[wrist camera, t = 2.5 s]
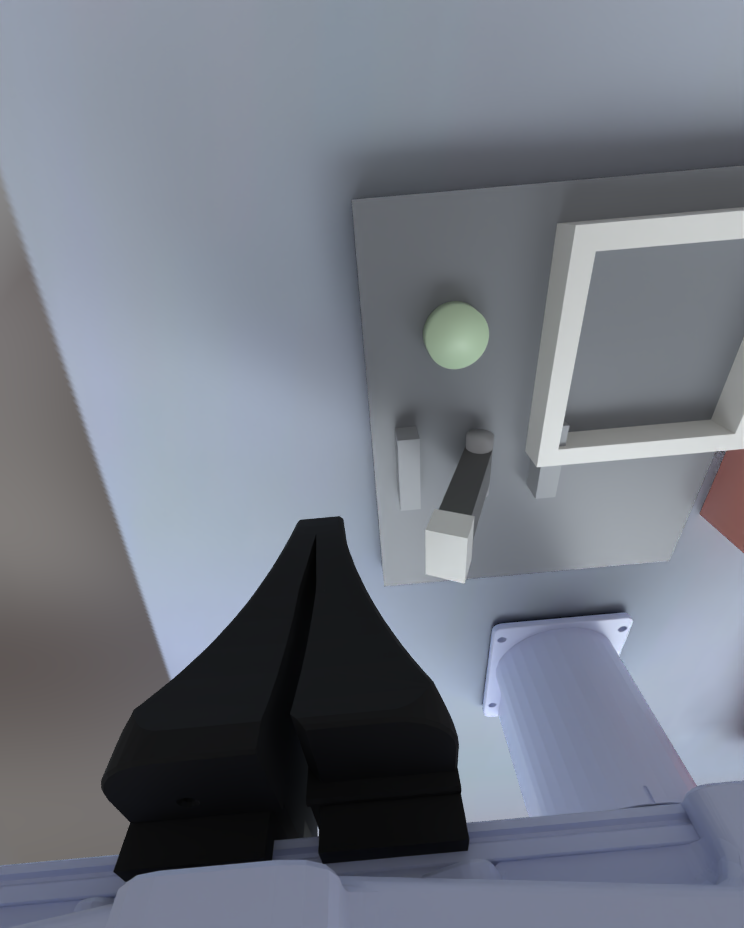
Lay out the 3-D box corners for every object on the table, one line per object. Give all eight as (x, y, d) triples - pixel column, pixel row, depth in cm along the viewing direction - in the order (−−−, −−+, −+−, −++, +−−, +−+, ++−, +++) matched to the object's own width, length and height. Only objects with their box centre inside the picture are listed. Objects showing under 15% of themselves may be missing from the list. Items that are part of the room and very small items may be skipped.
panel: (654, 543, 21) (686, 579, 19) (382, 568, 21) (386, 606, 19) (801, 160, 13) (886, 152, 11) (351, 199, 13) (352, 199, 11)
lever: (492, 487, 17) (464, 592, 13) (463, 482, 17) (425, 583, 13) (498, 430, 16) (468, 527, 11) (466, 427, 16) (425, 518, 12)
